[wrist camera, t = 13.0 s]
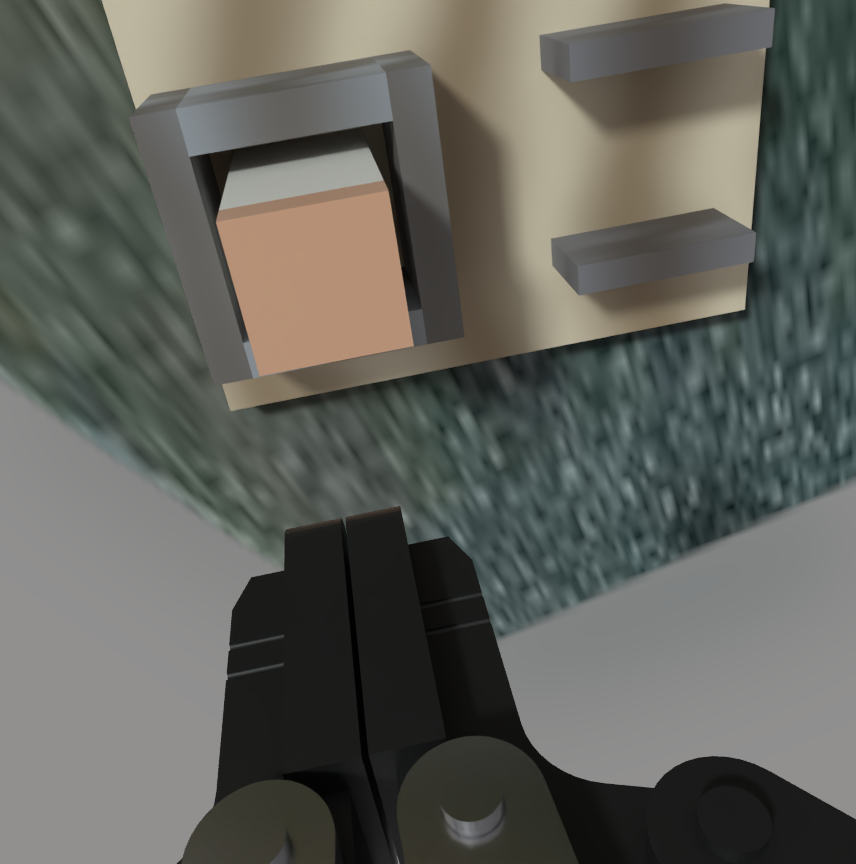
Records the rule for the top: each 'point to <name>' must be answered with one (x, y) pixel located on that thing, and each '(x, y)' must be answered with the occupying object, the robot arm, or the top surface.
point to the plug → (313, 252)
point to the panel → (468, 159)
